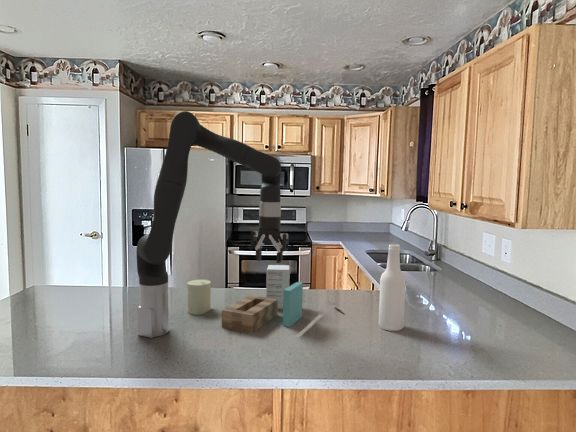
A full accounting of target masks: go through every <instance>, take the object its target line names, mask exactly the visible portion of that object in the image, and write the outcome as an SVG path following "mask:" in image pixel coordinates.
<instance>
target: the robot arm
mask: <svg viewBox="0 0 576 432" xmlns="http://www.w3.org/2000/svg"><path fill="white" fill-rule="evenodd" d="M167 140H168V142H167V147H166V152H165V155H164V157H163V161H162V164H161V168H160V169H159V170H160V171H159V173H158V178H157V182H156V185H155V187H154V193H153V218H152V222H151V223H152V224H151V227H150V230H149V233H147V234H145V235H143V236H142V237H141V238H139V240H138V241H137V245H136V270H137V271H136V272H137V275H138V285H139V287H138V288H139V289H138V291H139V292H138V293H139V294H138V295H139V298H138V299H139V306H137V309H136V310H137V312H136V313H137V317H136V318H137V335H138V336H141V337H144V338H145V337H146V338H149V339H152V338H156V337H162V336H164V335H166V334H167V333H168V332H169V322H170V321H169V320H170V319H169V274H168V272H167V268H166V264H165V263H166V261H167V260H168V258H169V256H171V255H170V254H171V251H172V246H173V238H174V231H175V227H176V223H177V219H178V215H179V212H180V208H181V205H182V201H183V198H184V194H185V190H186V187H187V181H188V171H189V168H188V165H189V155H190V152H191V148H192V145H193V146H196V147H199V148H203V149H205V150H208V151H211V152H213V153H216V154H218V155H220V156H222V157H223V158H226V159H228V160H230V161H232V162H234V163H236V164H238V165H241V166H243V167H244V168H245V167H246V168H249V169H251V170H252V171H255V172H256V173H259V174H260V175H261V185H260V192H259V194H260V195H259V209H258V215H259V216H258V231H257V230H251V231H250V248H251V249H254V250H255V259H256V261H258V262H260V261H262V257H263V256H262V253H263V252H262V248H263V246H264V245H265V244H269V245H272V246H273V247H274V248H275V250H276V251H277V252H276V264H280V263H282V262H283V259H284V256H283V253H284V252H285V251H288V250H289V242H290V241H289V239H290V234H289V233H288V232H287V233H284V232H283V233H282V232H281V221H282V220H281V219H282V218H281V215H282V208H281V206H282V205H281V175H282V163H281V162H280V160H279V159H278V158H277V157H275V156H273V155H270V154H268V153H265V152H263V151H260V150H257V148H254V147H252V146H250V145H248V144H246V143H244V142H242V141H239V140H237V139H234V138H230V137H227V136H223V135H220V134H217V133H215V132H213V131H211V130H209V129H208V128H207V127H204V125H202V124H201V123H200V122H199V119H198V118H197V117H196V116H195V115H194V114H193V113H192V112H190V111H187V110H183V111H180V112H177V113H176V114H175V115H174V116H173V118H172V120H171V122H170V128H169V136H168V139H167ZM258 236H259V238H260V239H258ZM280 238H281V240H282V243H281V241H280Z"/></svg>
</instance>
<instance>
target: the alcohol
mask: <svg viewBox="0 0 576 432" xmlns="http://www.w3.org/2000/svg"><path fill="white" fill-rule="evenodd" d="M400 251H401V244H396V243H391V244H389V245H388V253H387V254H388V255H387V259H386V260H387V263H386V268H385V270H384V272H382V273H381V274H380V275H381V276H380V278H379V301H378V327H380V329H382V330H384V331H388V332H398V331H402V330H403V328H404V325H405V306H406V305H405V303H406V302H405V301H406V282H407V281H406V277H405V275H404V273H403V272H402V269H401V258H400V257H401V254H400Z"/></svg>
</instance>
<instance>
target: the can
mask: <svg viewBox="0 0 576 432" xmlns="http://www.w3.org/2000/svg"><path fill="white" fill-rule="evenodd" d="M211 283H212V282H211V280H209V279H192V280H188V281H187V283H186V284H187V308H186V309H187V310H186V312H187V313H188V314H190V315H193V316H194V315H196V316H197V315H204V314H205V313H207V312H209V311H211V310H212V308H211V292H212V291H211V286H212V285H211Z"/></svg>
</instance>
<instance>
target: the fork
mask: <svg viewBox="0 0 576 432" xmlns="http://www.w3.org/2000/svg"><path fill="white" fill-rule="evenodd" d="M325 301H326V304H327V306H331V307H332V308H333V309H334V310H336V311H337V312H339V313H340V314H342V315H343V316H344V315H346V314H345V312H343V311H342V310H341V309H339V308H337V306H335V305H334V303H333V301H332V300H331V299H329V300H328V299H325Z"/></svg>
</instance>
